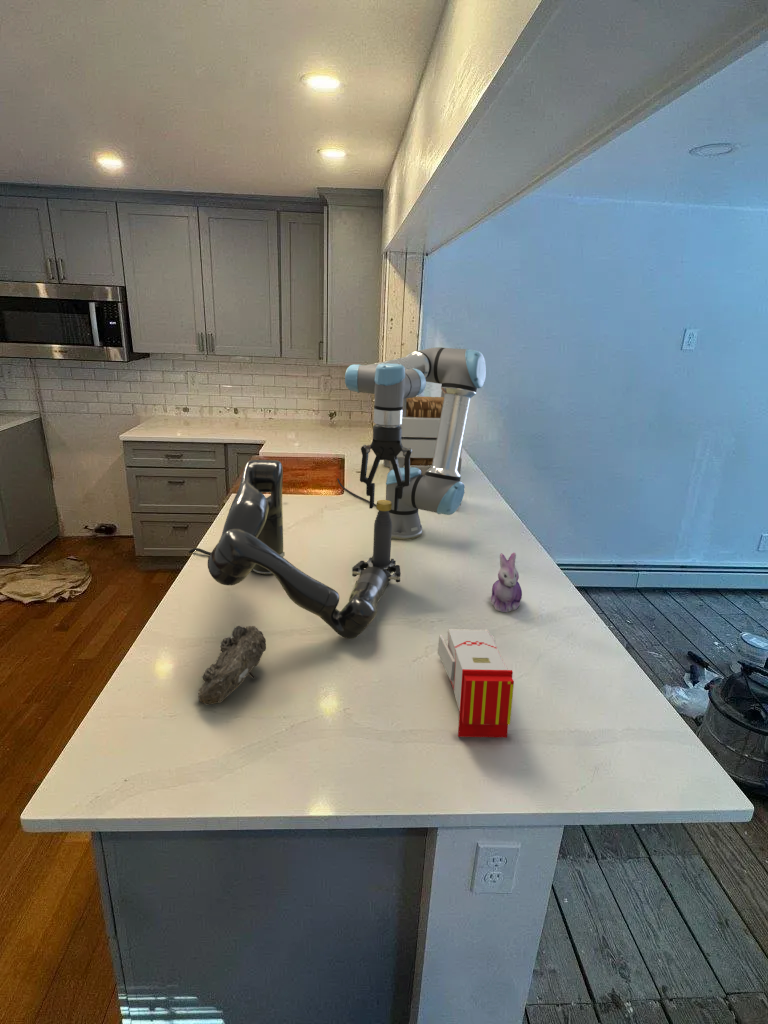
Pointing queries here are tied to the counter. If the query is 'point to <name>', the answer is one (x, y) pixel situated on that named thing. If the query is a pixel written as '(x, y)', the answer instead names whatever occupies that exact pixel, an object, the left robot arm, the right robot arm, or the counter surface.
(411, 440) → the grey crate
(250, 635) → the fossil
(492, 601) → the figurine
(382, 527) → the bottle
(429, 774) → the counter surface
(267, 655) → the counter surface
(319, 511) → the counter surface
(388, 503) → the cap
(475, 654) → the toy
